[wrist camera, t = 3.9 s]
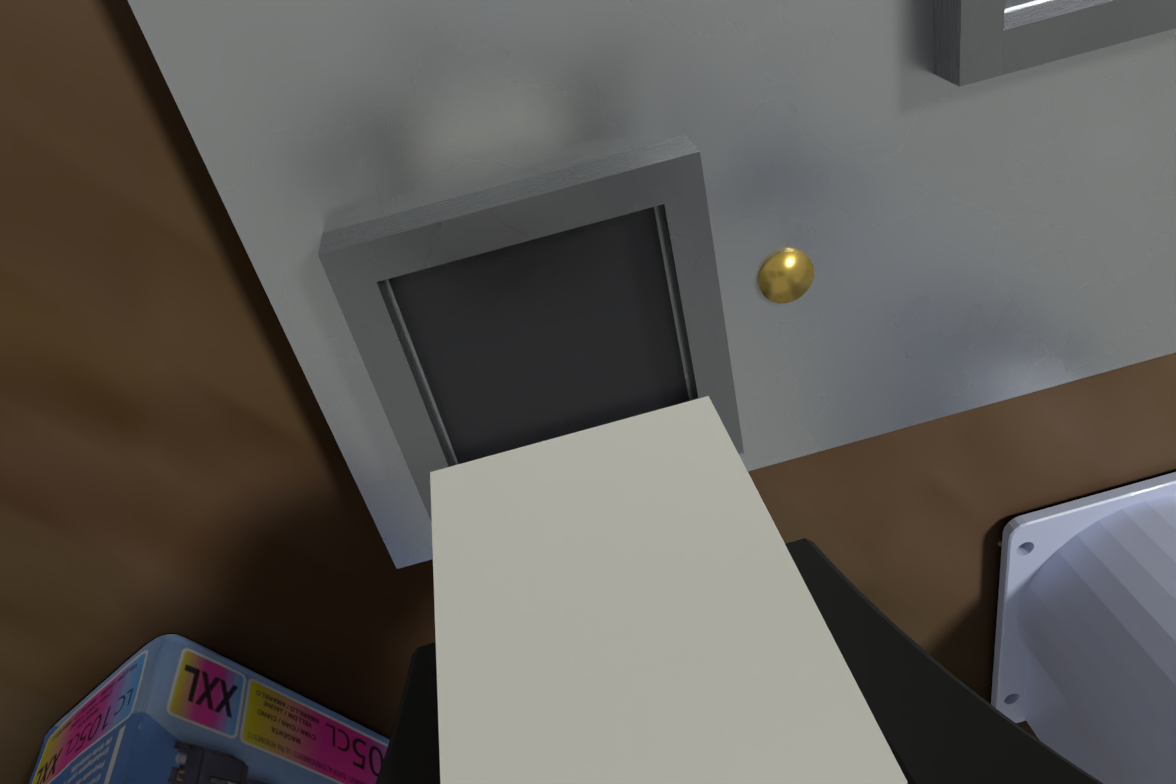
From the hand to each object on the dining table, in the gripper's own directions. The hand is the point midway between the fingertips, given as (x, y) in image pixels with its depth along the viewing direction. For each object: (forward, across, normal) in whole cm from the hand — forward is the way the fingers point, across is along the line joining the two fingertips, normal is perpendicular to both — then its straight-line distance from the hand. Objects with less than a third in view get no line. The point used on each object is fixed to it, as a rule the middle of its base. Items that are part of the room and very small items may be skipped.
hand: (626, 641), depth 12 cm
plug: (+2, 0, 0) cm, 2 cm away
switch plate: (+9, -6, -3) cm, 11 cm away
